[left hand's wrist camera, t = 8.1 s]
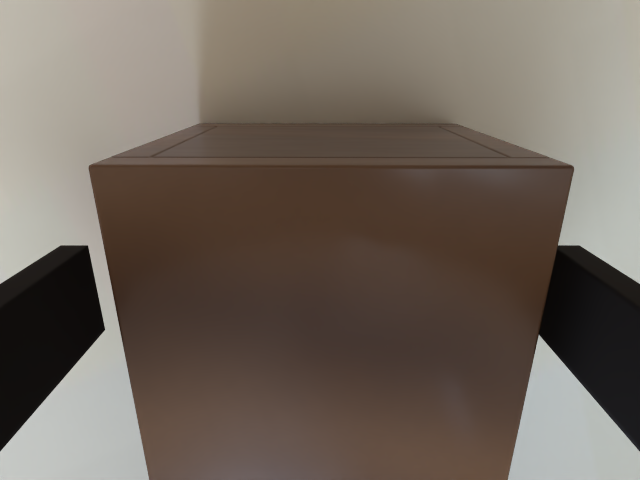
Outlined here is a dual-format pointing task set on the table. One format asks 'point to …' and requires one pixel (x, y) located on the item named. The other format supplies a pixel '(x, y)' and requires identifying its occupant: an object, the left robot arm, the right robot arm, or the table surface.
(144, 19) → the table surface
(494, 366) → the cabinet
